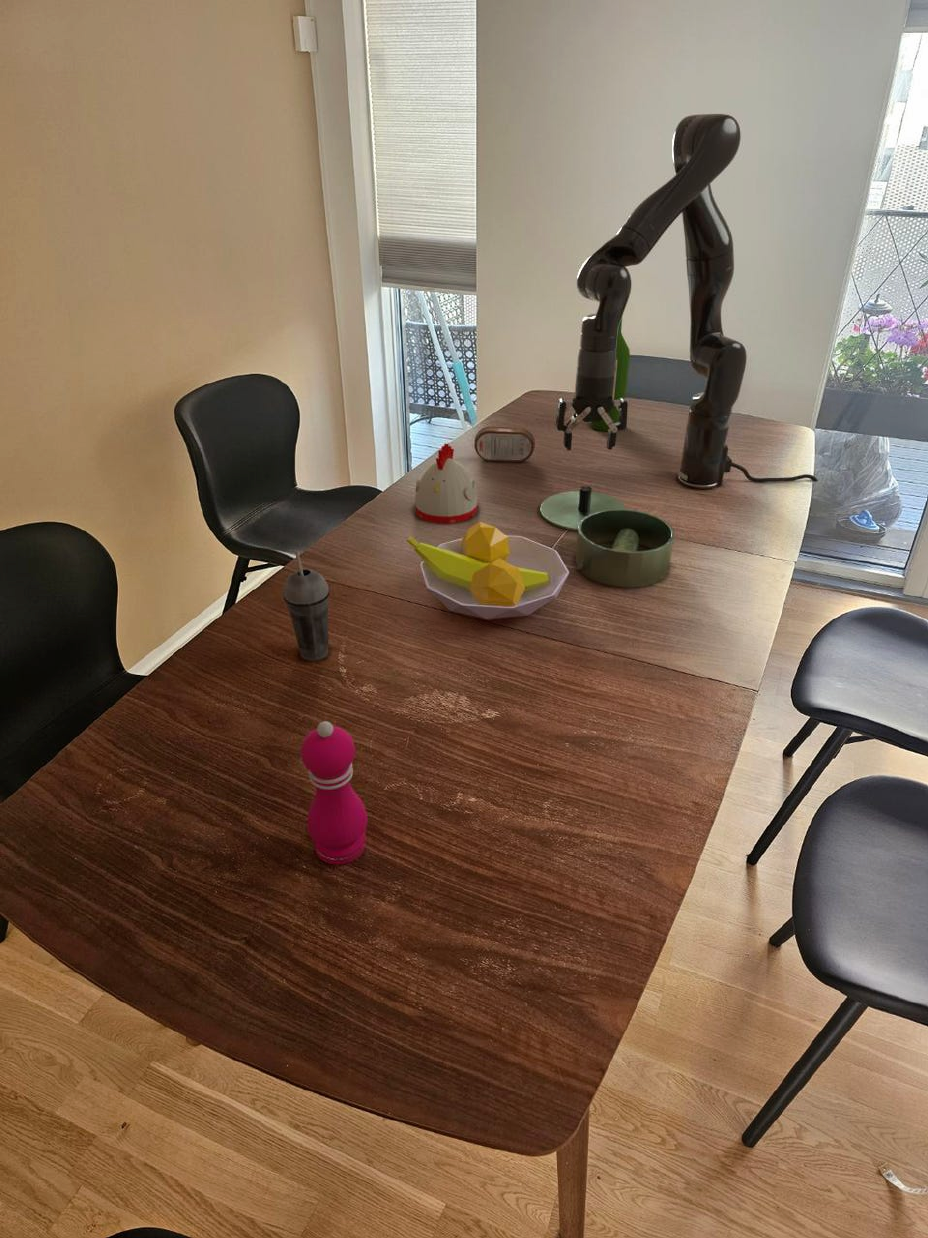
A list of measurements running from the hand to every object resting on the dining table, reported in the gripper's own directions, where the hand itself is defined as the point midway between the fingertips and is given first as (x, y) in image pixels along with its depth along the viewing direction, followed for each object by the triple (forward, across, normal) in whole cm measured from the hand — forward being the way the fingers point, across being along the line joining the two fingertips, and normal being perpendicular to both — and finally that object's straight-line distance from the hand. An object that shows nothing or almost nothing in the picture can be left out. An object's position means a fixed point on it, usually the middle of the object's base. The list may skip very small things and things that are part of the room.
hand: (588, 448), depth 168 cm
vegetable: (+15, -4, +22) cm, 27 cm away
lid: (+15, 0, 0) cm, 15 cm away
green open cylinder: (+15, -4, +22) cm, 27 cm away
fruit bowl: (+16, +23, +32) cm, 42 cm away
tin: (+15, +15, -31) cm, 38 cm away
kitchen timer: (+15, +30, -4) cm, 34 cm away
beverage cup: (+16, +53, +49) cm, 74 cm away
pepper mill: (+16, +45, +90) cm, 102 cm away
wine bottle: (+15, -15, -54) cm, 58 cm away
